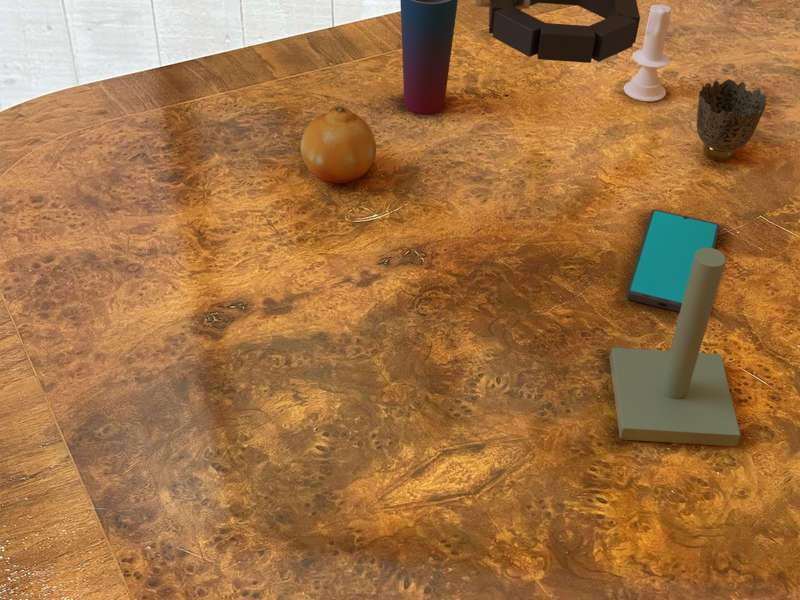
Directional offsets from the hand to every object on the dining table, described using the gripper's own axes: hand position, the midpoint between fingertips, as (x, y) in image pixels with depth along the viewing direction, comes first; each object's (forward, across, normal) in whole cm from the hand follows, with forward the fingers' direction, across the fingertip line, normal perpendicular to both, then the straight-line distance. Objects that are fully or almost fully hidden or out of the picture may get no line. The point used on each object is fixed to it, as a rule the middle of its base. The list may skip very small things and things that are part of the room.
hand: (501, 5), depth 96 cm
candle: (+26, -21, -32) cm, 47 cm away
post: (+26, -17, +22) cm, 38 cm away
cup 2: (+26, -28, -19) cm, 43 cm away
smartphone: (+26, -20, +3) cm, 33 cm away
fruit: (+26, +16, -10) cm, 32 cm away
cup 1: (+26, +7, -26) cm, 38 cm away
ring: (+2, -6, 0) cm, 6 cm away
